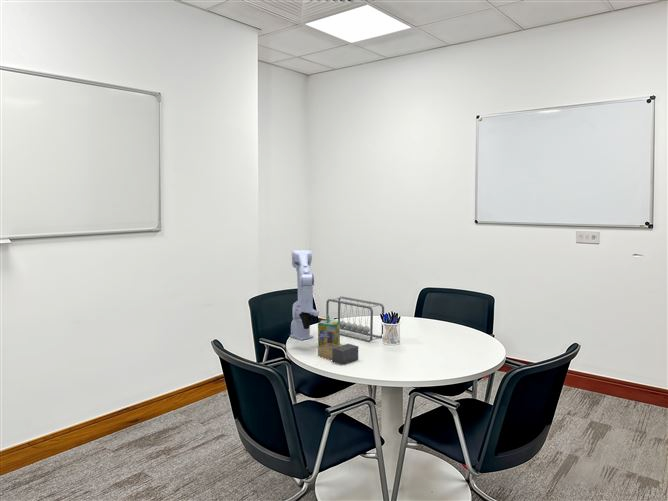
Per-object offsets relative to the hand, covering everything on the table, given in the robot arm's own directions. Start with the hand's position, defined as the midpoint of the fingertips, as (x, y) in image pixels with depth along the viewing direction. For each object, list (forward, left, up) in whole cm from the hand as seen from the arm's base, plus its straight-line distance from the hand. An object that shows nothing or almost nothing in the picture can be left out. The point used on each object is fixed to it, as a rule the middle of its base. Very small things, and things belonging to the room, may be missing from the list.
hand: (306, 328), depth 237 cm
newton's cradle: (0, +33, -10) cm, 34 cm away
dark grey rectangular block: (+22, 0, -9) cm, 24 cm away
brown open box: (+17, 0, -10) cm, 20 cm away
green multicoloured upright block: (+4, +11, -10) cm, 15 cm away
